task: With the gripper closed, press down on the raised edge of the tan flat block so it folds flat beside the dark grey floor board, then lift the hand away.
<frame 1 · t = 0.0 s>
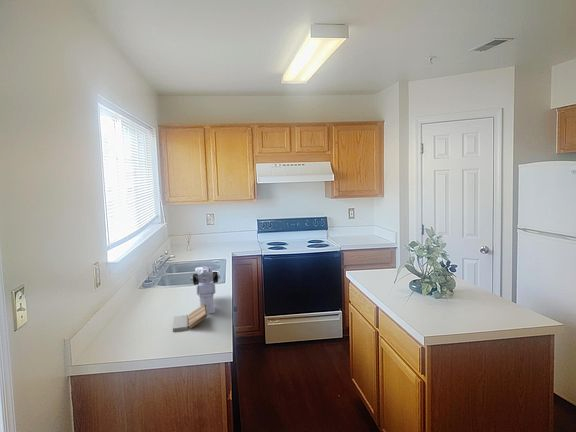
hand: (205, 280, 209), 22 cm above the worktop, tool horizontal, fingers open, 7 cm apart
tan flat block: (197, 315, 212), point 3 cm above the worktop, hinge at 30.0°
floor board: (180, 324, 211), on the worktop
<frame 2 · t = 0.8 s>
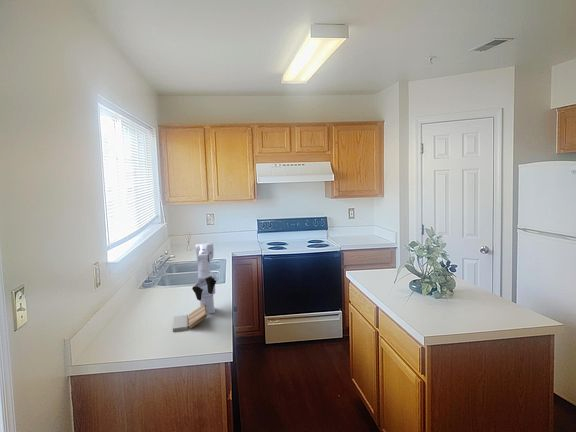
hand: (204, 296, 208), 14 cm above the worktop, tool tilted 50°, fingers open, 7 cm apart
nothing on the worktop moved.
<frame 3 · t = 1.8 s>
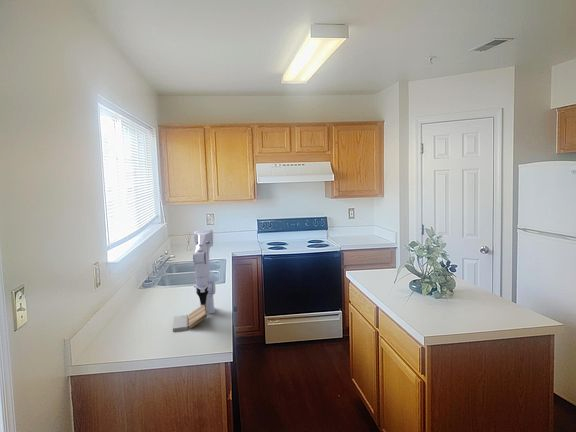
hand: (203, 303, 212), 9 cm above the worktop, tool pointing down, fingers open, 5 cm apart
nothing on the worktop moved.
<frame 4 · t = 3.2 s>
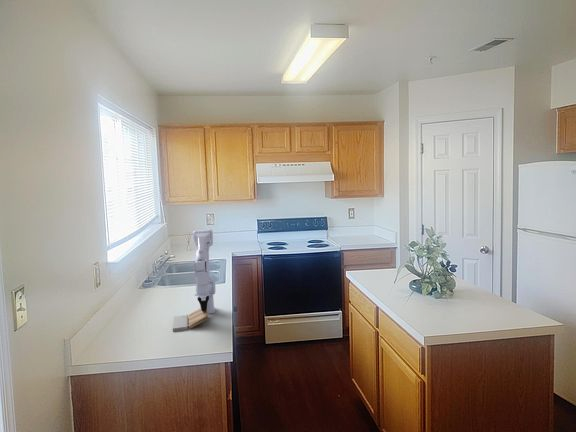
hand: (204, 311, 213), 5 cm above the worktop, tool pointing down, fingers closed, pressing on tan flat block
tan flat block: (198, 316, 212), point 3 cm above the worktop, hinge at 23.3°, touching gripper
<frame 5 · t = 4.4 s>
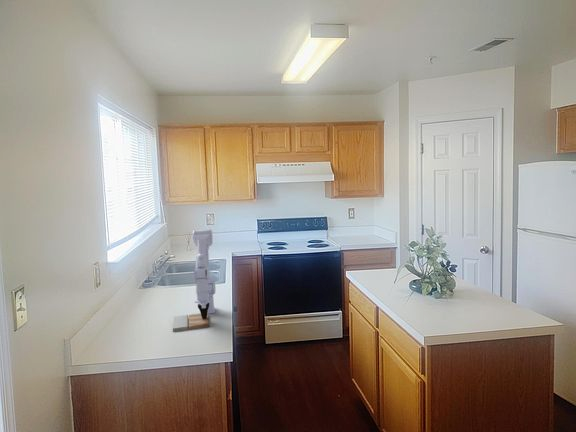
hand: (204, 318, 213), 2 cm above the worktop, tool pointing down, fingers closed, pressing on tan flat block
tan flat block: (198, 320, 213), point 1 cm above the worktop, hinge at 1.1°, touching gripper
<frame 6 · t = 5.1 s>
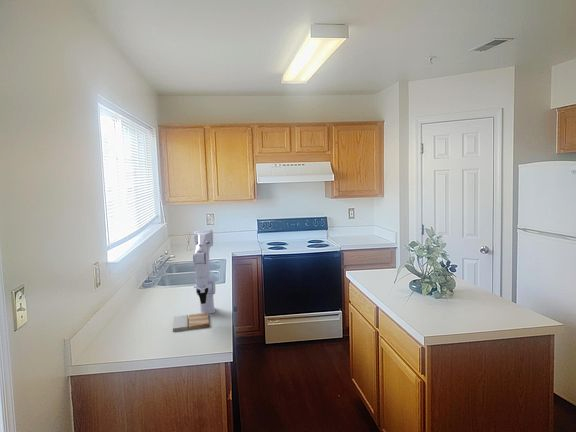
hand: (203, 303, 212), 9 cm above the worktop, tool pointing down, fingers closed
tan flat block: (198, 320, 213), point 1 cm above the worktop, hinge at 1.1°
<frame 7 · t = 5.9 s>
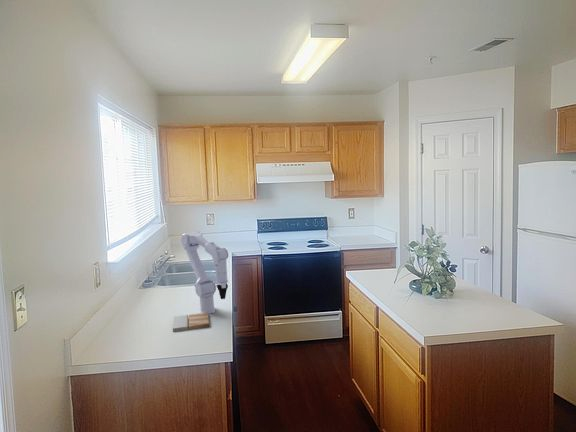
hand: (222, 298, 218), 9 cm above the worktop, tool pointing down, fingers closed
nothing on the worktop moved.
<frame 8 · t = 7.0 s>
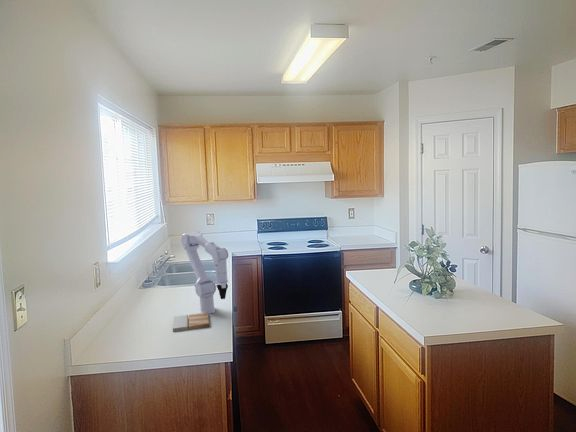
hand: (222, 298, 218), 9 cm above the worktop, tool pointing down, fingers closed
nothing on the worktop moved.
at the end: tan flat block at +1° (first picture: +30°) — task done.
